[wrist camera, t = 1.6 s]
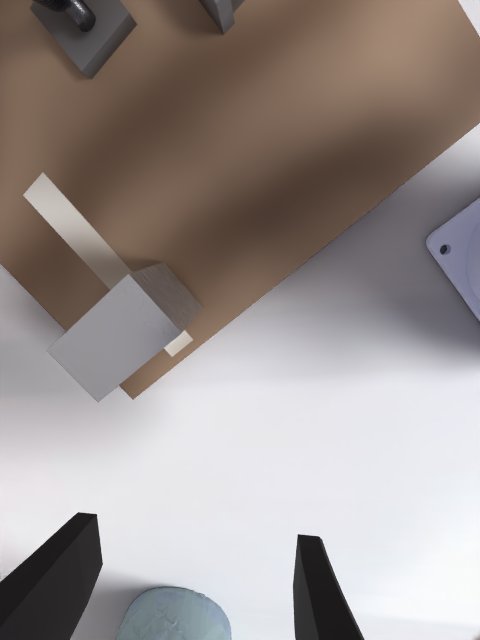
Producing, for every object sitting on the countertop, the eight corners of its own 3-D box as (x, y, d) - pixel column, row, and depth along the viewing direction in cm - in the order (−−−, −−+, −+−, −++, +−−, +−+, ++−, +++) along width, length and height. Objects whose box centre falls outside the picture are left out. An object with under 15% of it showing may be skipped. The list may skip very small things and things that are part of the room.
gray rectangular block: (203, 307, 17) (181, 333, 13) (136, 363, 18) (97, 402, 14) (163, 262, 16) (128, 273, 12) (97, 322, 18) (46, 350, 14)
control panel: (491, 107, 15) (555, 73, 12) (142, 387, 20) (117, 419, 17) (235, -306, 12) (222, -510, 9) (-87, 148, 18) (-171, 130, 14)
